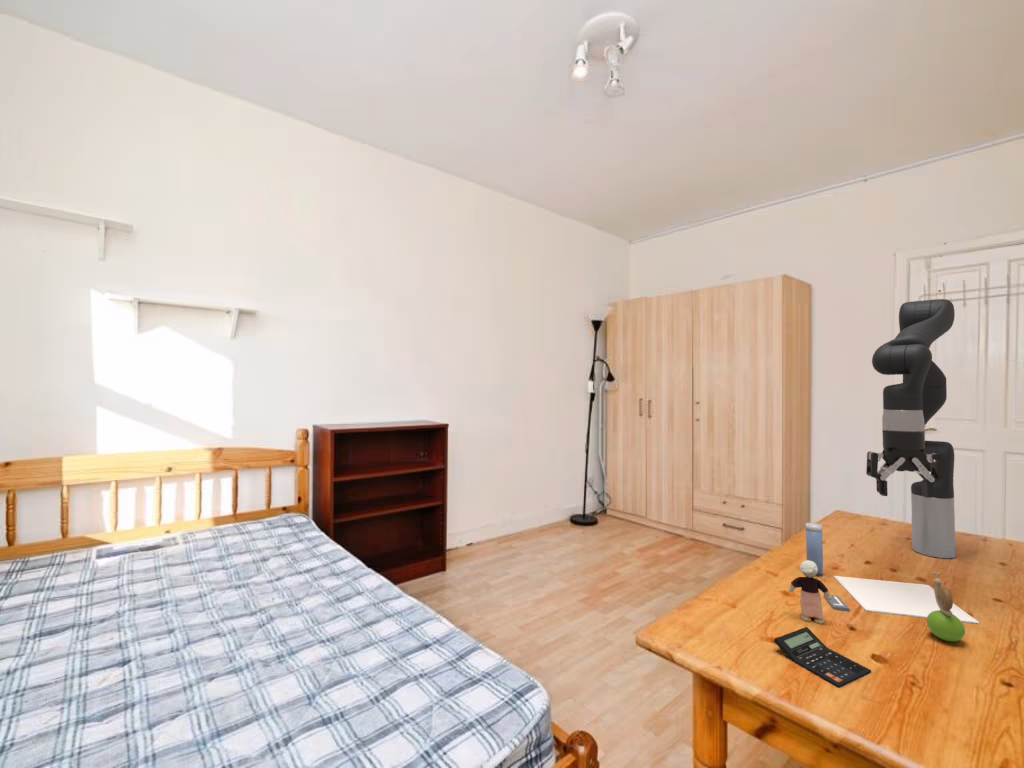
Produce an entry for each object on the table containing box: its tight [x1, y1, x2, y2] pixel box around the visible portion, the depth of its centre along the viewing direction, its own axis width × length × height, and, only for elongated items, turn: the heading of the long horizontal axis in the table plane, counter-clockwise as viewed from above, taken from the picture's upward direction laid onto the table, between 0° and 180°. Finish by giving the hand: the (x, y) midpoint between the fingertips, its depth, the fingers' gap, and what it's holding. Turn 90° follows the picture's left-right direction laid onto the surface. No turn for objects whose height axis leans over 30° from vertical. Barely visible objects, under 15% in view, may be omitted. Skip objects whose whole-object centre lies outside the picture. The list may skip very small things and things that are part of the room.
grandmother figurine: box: [788, 559, 832, 624], centre depth 95 cm, size 8×4×13 cm, turn 71°
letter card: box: [823, 594, 850, 612], centre depth 101 cm, size 6×3×1 cm, turn 162°
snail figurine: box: [926, 571, 966, 642], centre depth 87 cm, size 5×6×12 cm
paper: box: [833, 575, 980, 625], centre depth 103 cm, size 18×20×1 cm
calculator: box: [773, 626, 872, 689], centre depth 81 cm, size 9×12×3 cm
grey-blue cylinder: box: [805, 522, 824, 577], centre depth 117 cm, size 4×4×13 cm
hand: (904, 496), depth 104 cm, fingers open, 8 cm apart
